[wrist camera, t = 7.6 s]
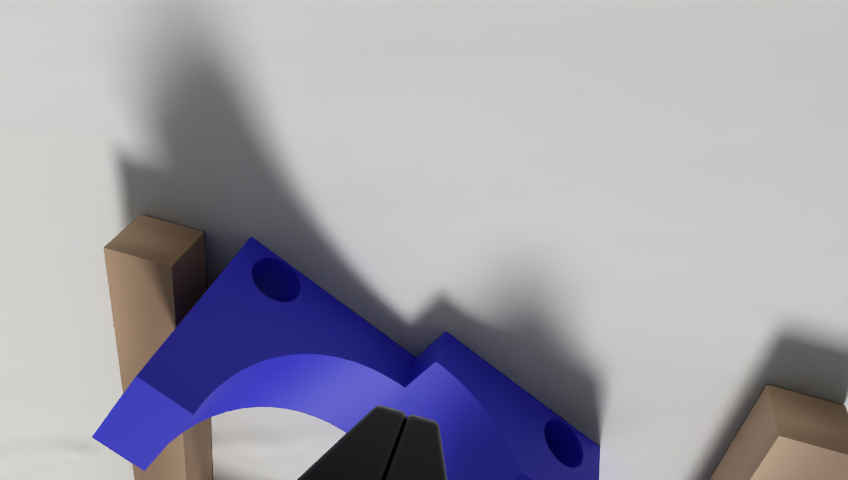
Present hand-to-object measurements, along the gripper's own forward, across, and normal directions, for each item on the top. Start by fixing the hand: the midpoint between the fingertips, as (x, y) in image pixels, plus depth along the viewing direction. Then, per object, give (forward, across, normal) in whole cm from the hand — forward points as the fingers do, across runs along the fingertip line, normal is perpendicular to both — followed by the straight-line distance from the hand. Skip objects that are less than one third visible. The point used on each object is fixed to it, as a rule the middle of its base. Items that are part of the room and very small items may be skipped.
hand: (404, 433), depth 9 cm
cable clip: (+10, +1, +8) cm, 13 cm away
